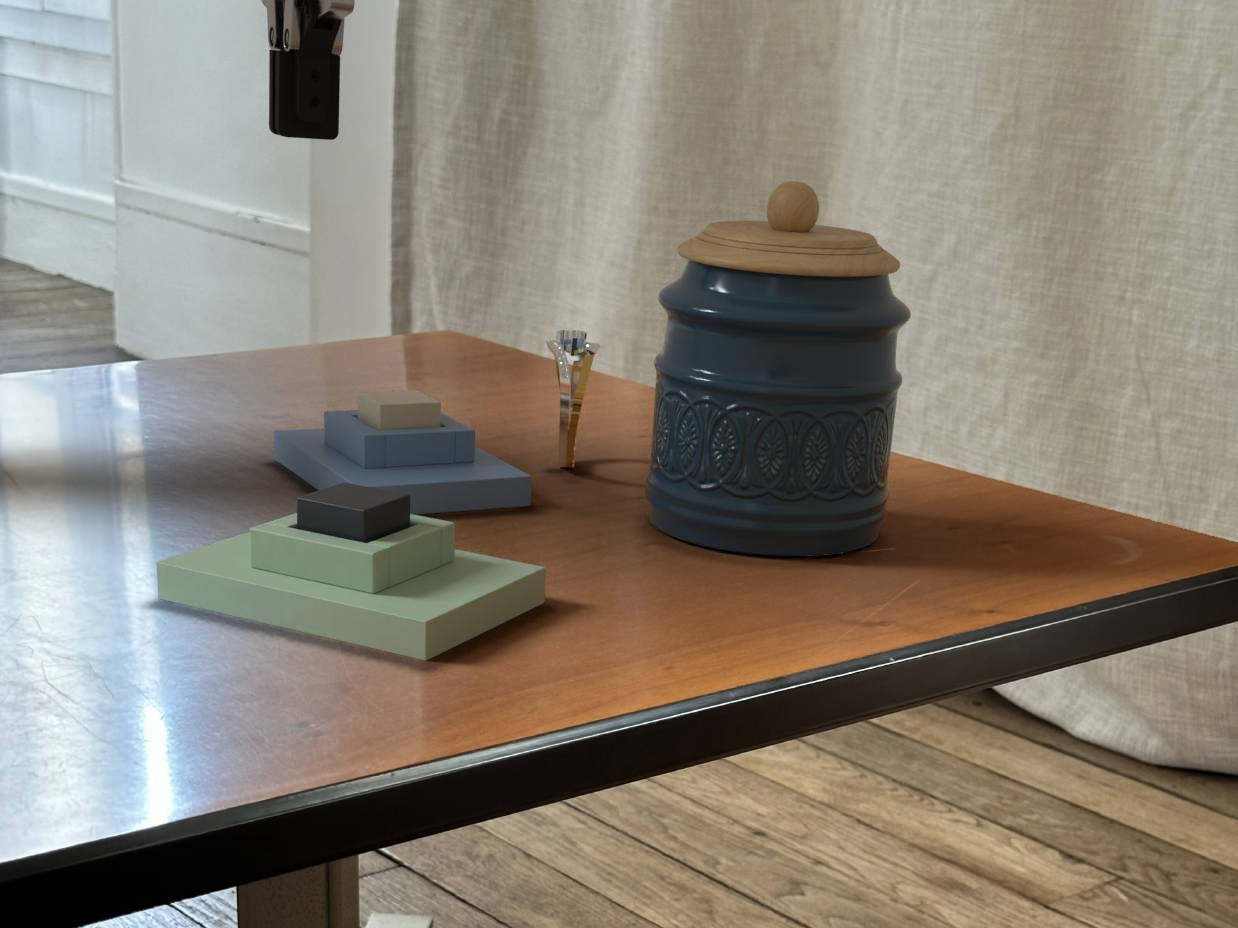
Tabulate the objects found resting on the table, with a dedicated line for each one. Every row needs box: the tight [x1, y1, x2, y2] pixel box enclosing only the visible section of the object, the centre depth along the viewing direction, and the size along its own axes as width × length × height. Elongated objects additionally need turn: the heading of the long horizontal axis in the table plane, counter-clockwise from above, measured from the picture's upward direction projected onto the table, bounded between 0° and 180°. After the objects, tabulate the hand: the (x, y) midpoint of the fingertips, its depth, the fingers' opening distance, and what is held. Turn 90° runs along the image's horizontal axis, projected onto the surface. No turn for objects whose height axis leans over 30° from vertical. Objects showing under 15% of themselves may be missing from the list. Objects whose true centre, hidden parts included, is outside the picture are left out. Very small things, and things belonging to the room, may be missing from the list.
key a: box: [296, 482, 410, 543], centre depth 77 cm, size 4×4×2 cm
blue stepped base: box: [273, 409, 533, 516], centre depth 99 cm, size 14×10×4 cm
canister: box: [644, 180, 912, 557], centre depth 91 cm, size 13×13×18 cm
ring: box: [545, 329, 601, 470], centre depth 104 cm, size 7×3×8 cm, turn 177°
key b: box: [356, 389, 442, 430], centre depth 98 cm, size 4×4×2 cm
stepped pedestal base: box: [155, 512, 547, 662], centre depth 78 cm, size 14×10×4 cm
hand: (303, 135), depth 91 cm, fingers closed
